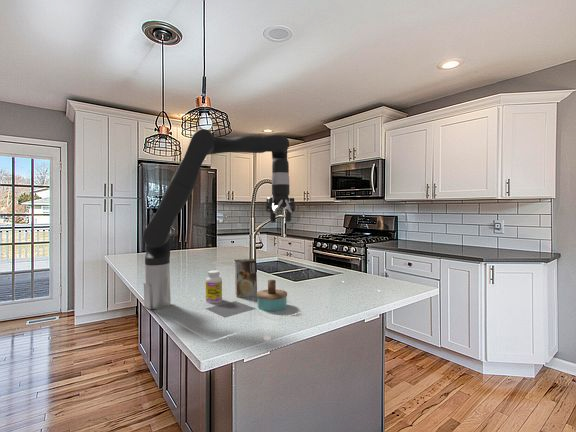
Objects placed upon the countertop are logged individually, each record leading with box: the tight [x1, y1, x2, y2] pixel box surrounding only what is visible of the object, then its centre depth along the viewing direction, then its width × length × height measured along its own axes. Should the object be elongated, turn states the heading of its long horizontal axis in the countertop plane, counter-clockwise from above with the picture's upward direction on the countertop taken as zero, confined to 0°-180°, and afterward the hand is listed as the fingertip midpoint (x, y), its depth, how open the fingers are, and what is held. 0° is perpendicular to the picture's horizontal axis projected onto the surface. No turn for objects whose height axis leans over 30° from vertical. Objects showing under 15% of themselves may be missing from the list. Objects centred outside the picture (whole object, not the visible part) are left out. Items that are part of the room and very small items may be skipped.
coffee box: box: [234, 258, 258, 298], centre depth 146 cm, size 9×6×16 cm
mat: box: [204, 300, 256, 318], centre depth 126 cm, size 14×14×1 cm
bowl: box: [257, 295, 288, 312], centre depth 128 cm, size 11×11×5 cm
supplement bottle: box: [205, 269, 223, 304], centre depth 137 cm, size 7×7×13 cm
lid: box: [256, 279, 288, 300], centre depth 128 cm, size 12×12×6 cm
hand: (281, 222), depth 139 cm, fingers open, 8 cm apart
